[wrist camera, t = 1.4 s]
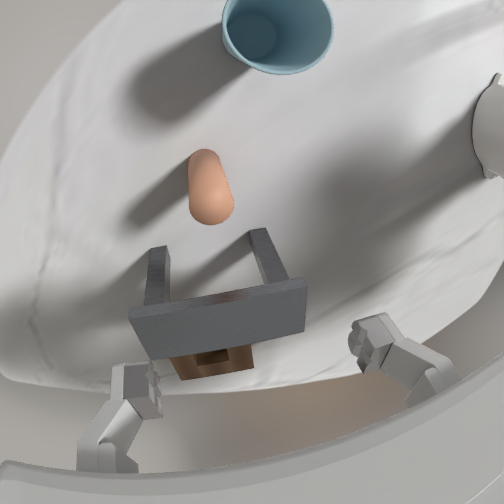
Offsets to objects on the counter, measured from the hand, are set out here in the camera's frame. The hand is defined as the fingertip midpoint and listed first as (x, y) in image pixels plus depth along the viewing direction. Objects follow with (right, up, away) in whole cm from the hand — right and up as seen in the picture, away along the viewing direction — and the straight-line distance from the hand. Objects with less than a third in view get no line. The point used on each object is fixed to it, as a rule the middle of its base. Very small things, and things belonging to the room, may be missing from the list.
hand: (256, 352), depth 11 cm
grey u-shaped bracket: (-5, +5, +25) cm, 26 cm away
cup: (0, +25, +12) cm, 28 cm away
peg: (-5, +13, +19) cm, 24 cm away
